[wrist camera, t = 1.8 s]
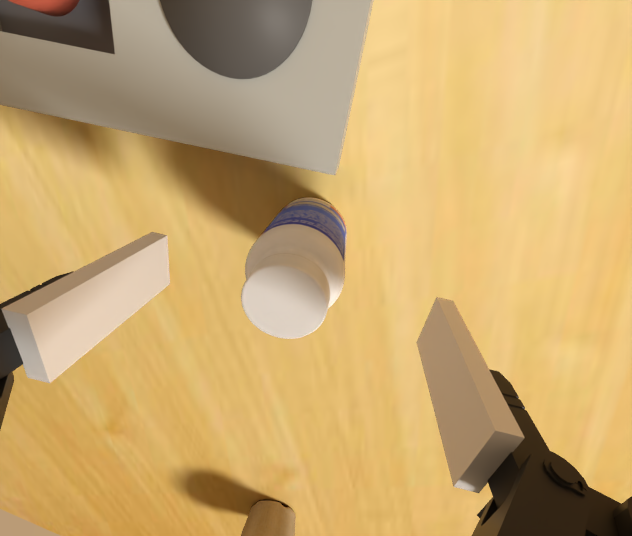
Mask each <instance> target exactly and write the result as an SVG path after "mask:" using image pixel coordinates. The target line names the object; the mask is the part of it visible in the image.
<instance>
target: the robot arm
mask: <svg viewBox="0 0 632 536" xmlns="http://www.w3.org/2000/svg"><path fill="white" fill-rule="evenodd" d="M169 284H170V276H169V258H168V241H167V235H163V234H159V233H154V232H151V233H149V234H147V235H145V236H143V237H141V238H139V239H137V240H135V241H134V242H132V243H130V244H128V245H126V246H124V247H122V248H120V249H118V250H116V251H114V252H112V253H110V254H108V255H106V256H104V257H102V258H100V259H98V260H96V261H94V262H92V263H90V264H88V265H86V266H84V267H82V268H80V269H78V270H77V271H75V272H70V273H66V274H63V275H59V276H56V277H54V278H52V279H50V280H48V281H46V282H44V283H42V285H38V286H36V287H34V288H32V289H31V290H30V291H26V292H24V293H22V294H20V295H18V296H16V297H14V298H12V299H9V300H7V301H5V302H3V303H1V304H0V429H1V425H2V422H3V418H4V415H5V411H6V407H7V404H8V400H9V397H10V393H11V390H12V386H13V382H14V376H13V373H12V371H14V370H15V369H16V368H18V367H19V366H21V365H22V364H23V366H24V369H25V372H26V374H27V377H28V378H32V379H36V380H39V381H43V382H47V383H51V382H52V381H53V380H54V379H56V378H57V377H58V376H59V375H60V374H62V373H63V372H64V371H65V370H66V369H68V368H69V367H70V366H71V365H72V364H74V363H75V362H76V361H77V360H79V359H80V358H81V357H82V356H83V355H85V354H86V353H87V352H88V351H89V350H91V349H92V348H93V347H94V346H95V345H97V344H98V343H99V342H100V341H101V340H103V339H104V338H105V337H106V336H108V335H109V334H110V333H111V332H112V331H114V330H115V329H116V328H117V327H118V326H120V325H121V324H122V323H123V322H124V321H126V320H127V319H128V318H129V317H131V316H132V315H133V314H134V313H135V312H137V311H138V310H139V309H140V308H141V307H143V306H144V305H145V304H146V303H147V302H149V301H150V300H151V299H152V298H153V297H155V296H156V295H157V294H158V293H160V292H161V291H162V290H163V289H164V288H166V287H167V286H168V285H169ZM417 345H418V349H419V353H420V357H421V361H422V365H423V369H424V373H425V377H426V380H427V384H428V388H429V392H430V396H431V400H432V404H433V408H434V412H435V416H436V420H437V423H438V427H439V431H440V435H441V439H442V443H443V447H444V451H445V455H446V459H447V463H448V466H449V470H450V474H451V478H452V482H453V486H454V487H457V488H461V489H465V490H469V491H473V492H476V493H479V492H480V491H481V490H482V489H483V487H484V486H485V485H486V484H487V483H489V486H490V489H491V492H492V495H493V498H492V499H491V500H490V501H489V502H488V503H487V504H486V506H485V507H484V508H483V509H482V510H481V511H480V512H479V513H478V515H477V516H478V517H479V518H480V520H479V522H478V524H477V526H476V528H475V530H474V532H473V534H472V536H632V497H630V498H629V499H627V500H626V501H625V502H624V503H622V504H621V503H619V502H617V501H615V500H613V499H611V498H609V497H607V496H605V495H603V494H601V493H600V492H598V491H596V490H594V489H592V488H590V487H588V485H587V483H586V481H585V480H584V478H583V477H582V476H581V475H580V473H579V472H578V471H577V470H576V469H575V468H574V467H573V466H572V465H571V464H570V463H568V462H567V461H566V460H565V459H564V458H562V457H560V456H559V455H557V454H555V453H554V452H551V451H550V450H549V449H548V447H547V445H546V443H545V442H544V440H543V438H542V437H541V435H540V433H539V431H538V430H537V428H536V426H535V424H534V423H533V421H532V419H531V418H530V416H529V414H528V412H527V411H526V410H525V407H524V405H523V404H522V402H521V400H519V399H518V395H517V393H516V392H515V390H514V388H513V386H512V385H511V384H510V382H509V381H508V380H507V379H506V378H505V377H504V376H503V375H502V374H501V373H500V372H498V371H494V370H489V368H488V366H487V365H486V363H485V361H484V359H483V357H482V355H481V353H480V351H479V349H478V347H477V345H476V344H475V342H474V340H473V338H472V336H471V334H470V332H469V330H468V328H467V326H466V324H465V323H464V321H463V319H462V317H461V315H460V313H459V311H458V309H457V307H456V305H455V303H454V302H453V301H451V300H447V299H443V298H438V297H437V298H436V300H435V302H434V304H433V307H432V309H431V311H430V313H429V316H428V318H427V320H426V322H425V325H424V327H423V329H422V331H421V334H420V336H419V338H418V340H417Z"/></svg>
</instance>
